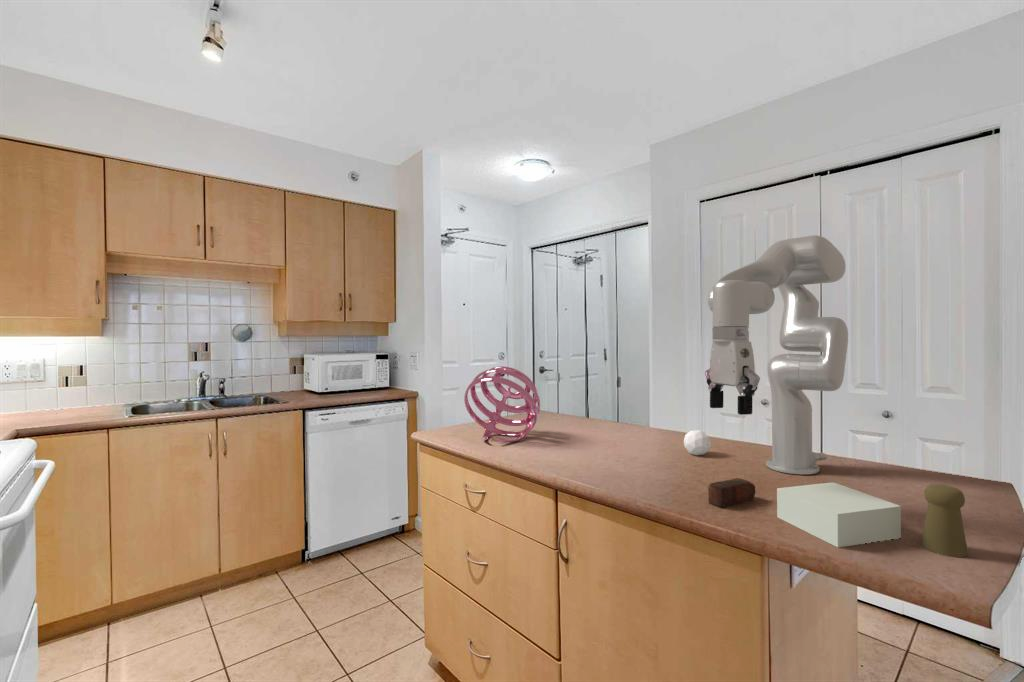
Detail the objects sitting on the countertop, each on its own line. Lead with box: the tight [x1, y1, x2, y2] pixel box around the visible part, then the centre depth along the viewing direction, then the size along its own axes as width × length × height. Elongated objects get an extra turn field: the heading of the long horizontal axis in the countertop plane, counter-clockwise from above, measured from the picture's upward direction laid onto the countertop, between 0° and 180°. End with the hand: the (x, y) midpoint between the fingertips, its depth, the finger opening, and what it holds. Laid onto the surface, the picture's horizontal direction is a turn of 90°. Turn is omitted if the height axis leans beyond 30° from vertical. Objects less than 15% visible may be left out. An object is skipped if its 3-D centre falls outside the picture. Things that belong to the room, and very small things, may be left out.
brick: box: [708, 477, 756, 509], centre depth 105 cm, size 11×4×5 cm, turn 116°
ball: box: [683, 429, 712, 456], centre depth 145 cm, size 8×8×8 cm
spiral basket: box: [464, 366, 541, 443], centre depth 170 cm, size 28×28×27 cm
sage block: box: [776, 481, 902, 548], centre depth 91 cm, size 14×14×6 cm
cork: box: [920, 483, 969, 558], centre depth 81 cm, size 6×6×11 cm
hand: (730, 410), depth 105 cm, fingers open, 9 cm apart
